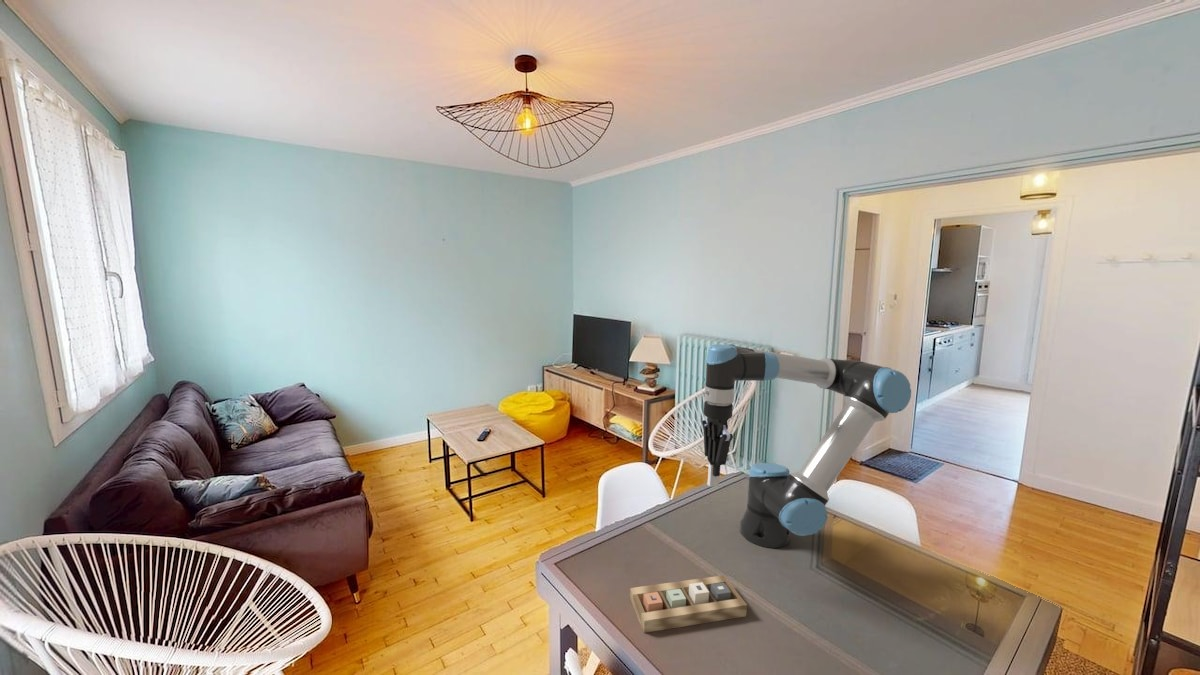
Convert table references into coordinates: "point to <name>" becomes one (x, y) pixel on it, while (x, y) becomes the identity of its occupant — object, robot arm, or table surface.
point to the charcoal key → (720, 592)
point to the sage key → (675, 598)
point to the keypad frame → (690, 612)
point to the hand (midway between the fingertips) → (713, 485)
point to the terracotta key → (652, 602)
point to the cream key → (698, 593)
